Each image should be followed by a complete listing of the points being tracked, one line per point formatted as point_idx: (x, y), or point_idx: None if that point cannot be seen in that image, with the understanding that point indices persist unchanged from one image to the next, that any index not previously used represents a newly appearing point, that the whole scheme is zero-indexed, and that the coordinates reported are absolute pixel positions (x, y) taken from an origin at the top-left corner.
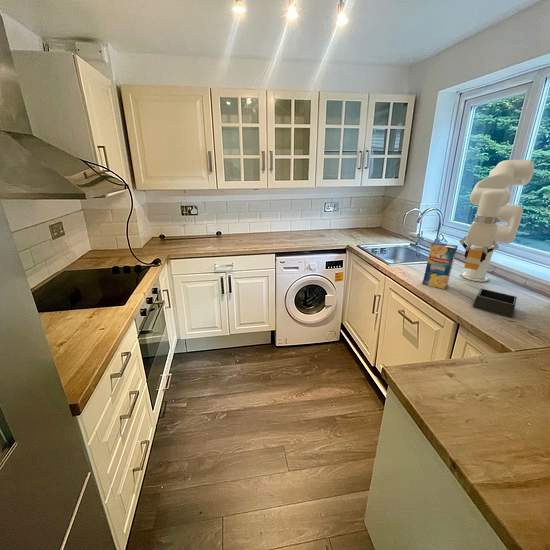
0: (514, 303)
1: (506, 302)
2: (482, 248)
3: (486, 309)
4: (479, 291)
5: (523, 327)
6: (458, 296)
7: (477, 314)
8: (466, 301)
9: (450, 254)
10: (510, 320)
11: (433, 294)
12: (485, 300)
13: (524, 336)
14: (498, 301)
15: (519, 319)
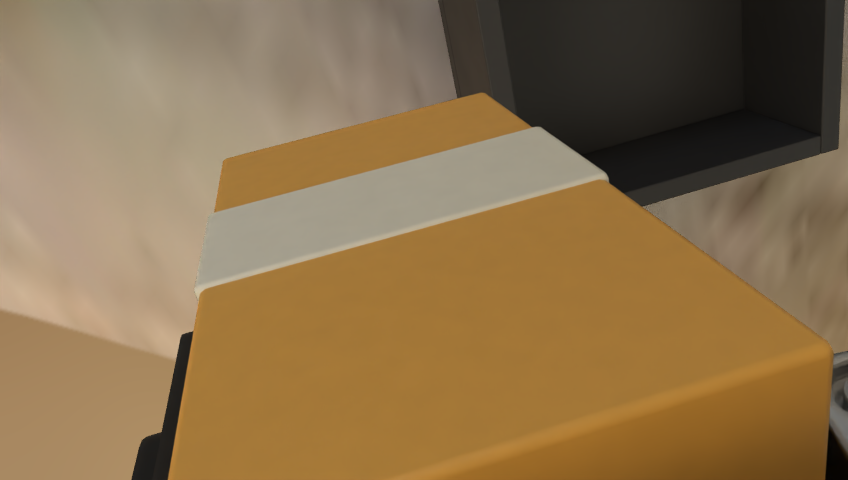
0: (832, 104)
1: (770, 154)
2: (740, 427)
3: None
4: (493, 80)
5: (828, 216)
6: (256, 47)
7: None
8: (378, 113)
9: None
10: (751, 179)
11: (77, 257)
12: None
13: (832, 343)
14: (705, 184)
15: None
